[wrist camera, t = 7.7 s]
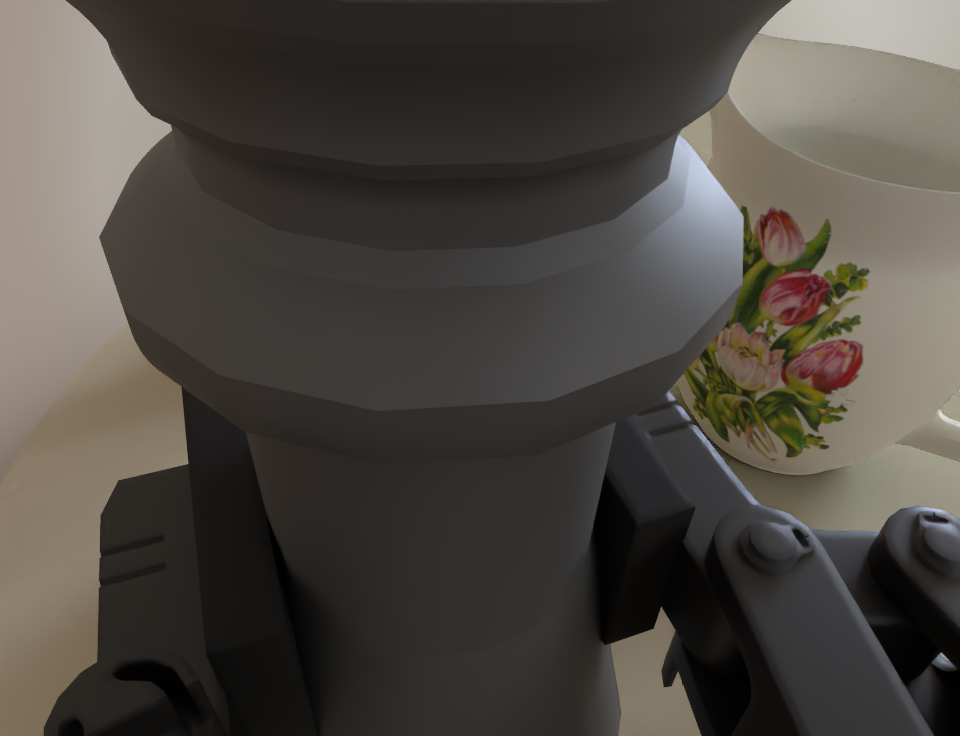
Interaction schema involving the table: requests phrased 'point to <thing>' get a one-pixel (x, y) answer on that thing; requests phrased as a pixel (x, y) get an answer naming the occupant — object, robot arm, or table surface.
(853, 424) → the pitcher
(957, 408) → the table surface
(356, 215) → the candle holder
